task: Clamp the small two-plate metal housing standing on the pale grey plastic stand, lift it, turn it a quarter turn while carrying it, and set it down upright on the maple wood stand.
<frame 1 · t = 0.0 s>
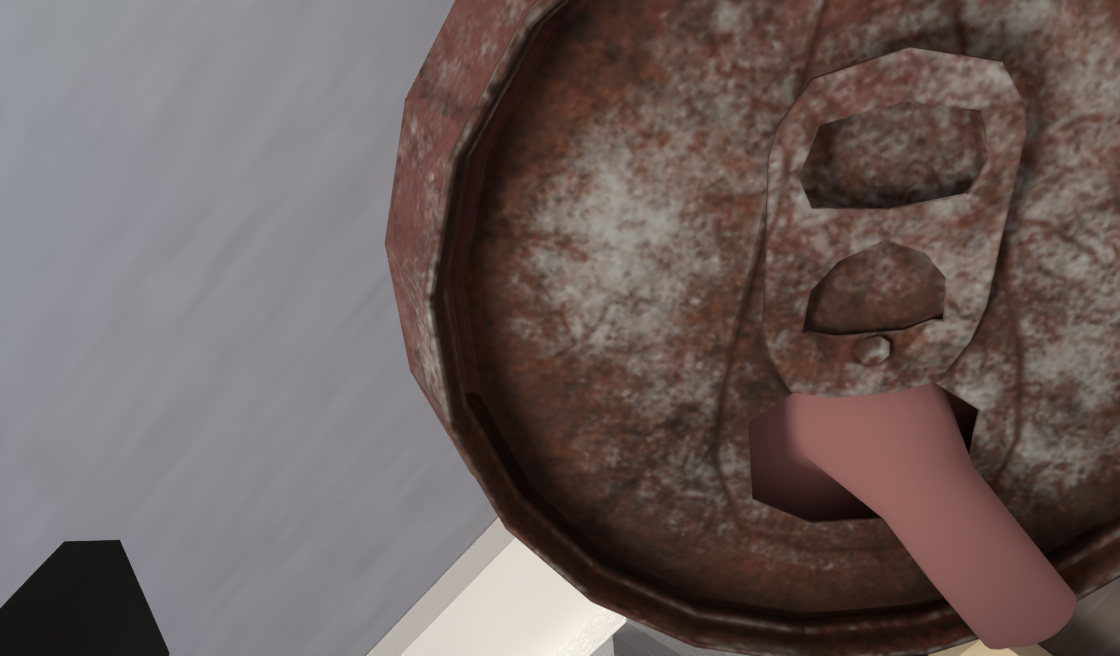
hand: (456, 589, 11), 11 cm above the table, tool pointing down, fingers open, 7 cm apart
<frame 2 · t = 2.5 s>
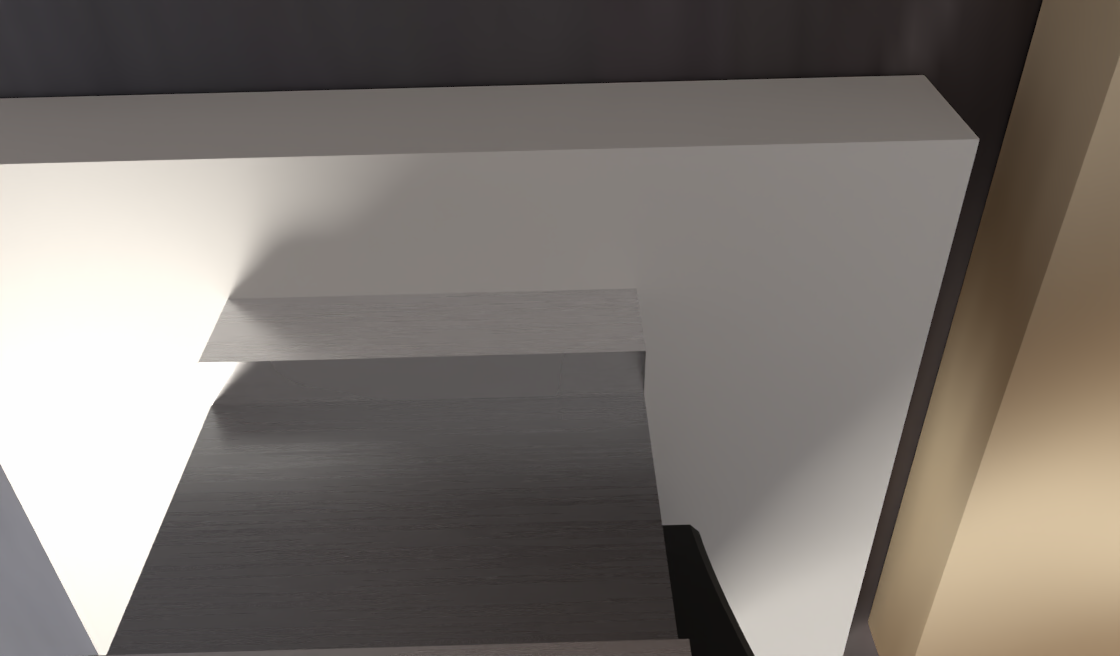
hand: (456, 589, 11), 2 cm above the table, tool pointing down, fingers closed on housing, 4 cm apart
stand a: (468, 447, 13), on the table
housing: (461, 534, 11), point 1 cm above the table, touching gripper, stand a
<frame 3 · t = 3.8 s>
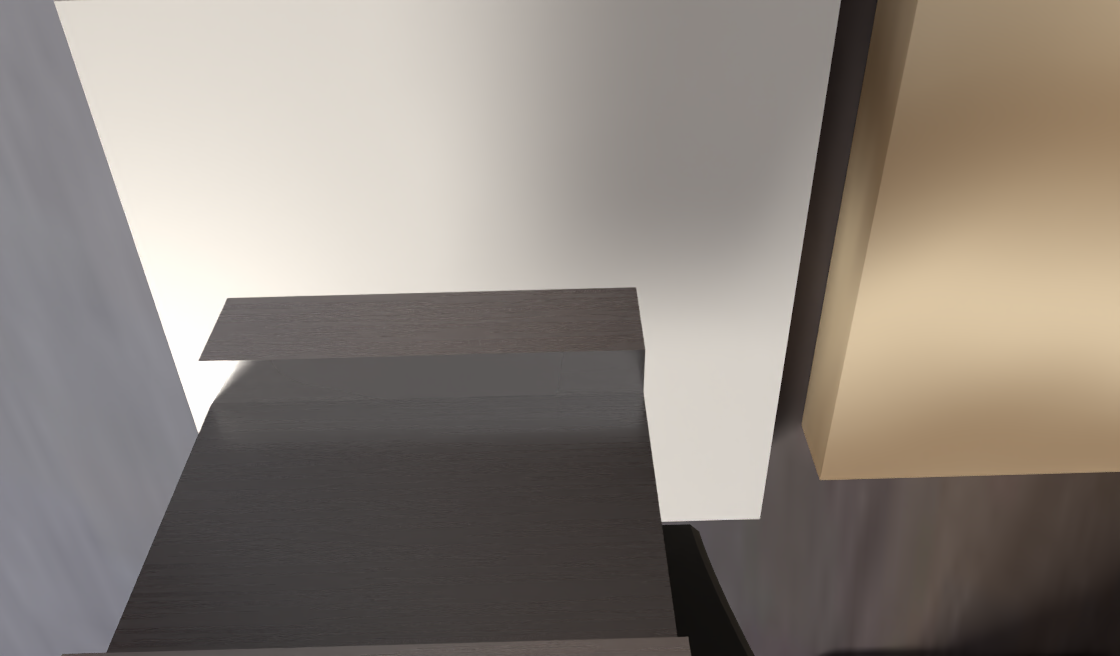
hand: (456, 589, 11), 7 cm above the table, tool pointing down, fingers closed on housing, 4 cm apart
stand a: (482, 260, 16), on the table
housing: (460, 533, 11), point 6 cm above the table, touching gripper
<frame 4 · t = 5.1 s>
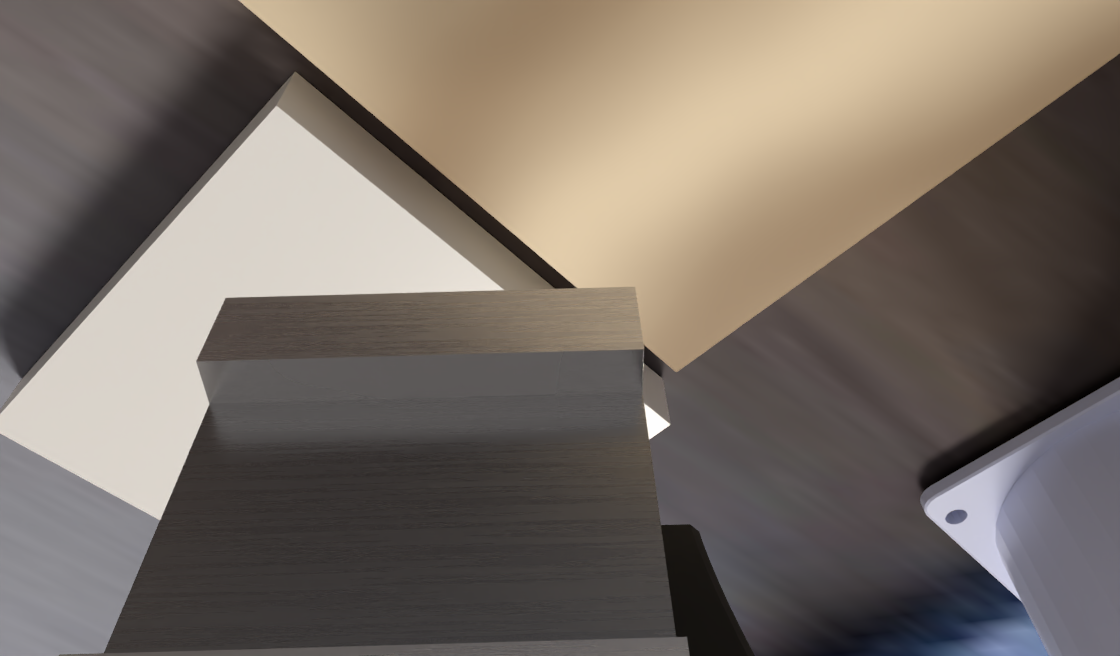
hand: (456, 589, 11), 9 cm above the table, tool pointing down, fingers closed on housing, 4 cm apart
stand a: (344, 379, 21), on the table
housing: (460, 533, 11), point 9 cm above the table, touching gripper
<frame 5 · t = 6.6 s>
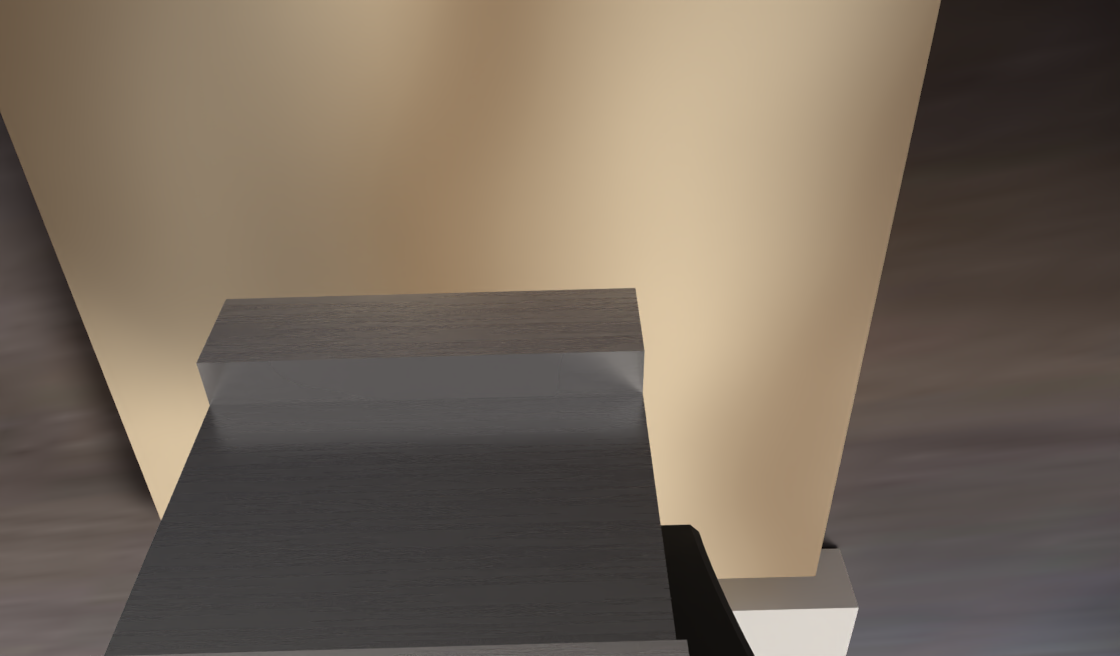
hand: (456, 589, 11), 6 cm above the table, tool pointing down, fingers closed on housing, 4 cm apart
housing: (460, 534, 11), point 6 cm above the table, touching gripper
stand b: (485, 279, 16), on the table
when the fingers open (3 cm above the table, at t = 8.0 s): housing stays where it is, resting on stand b.
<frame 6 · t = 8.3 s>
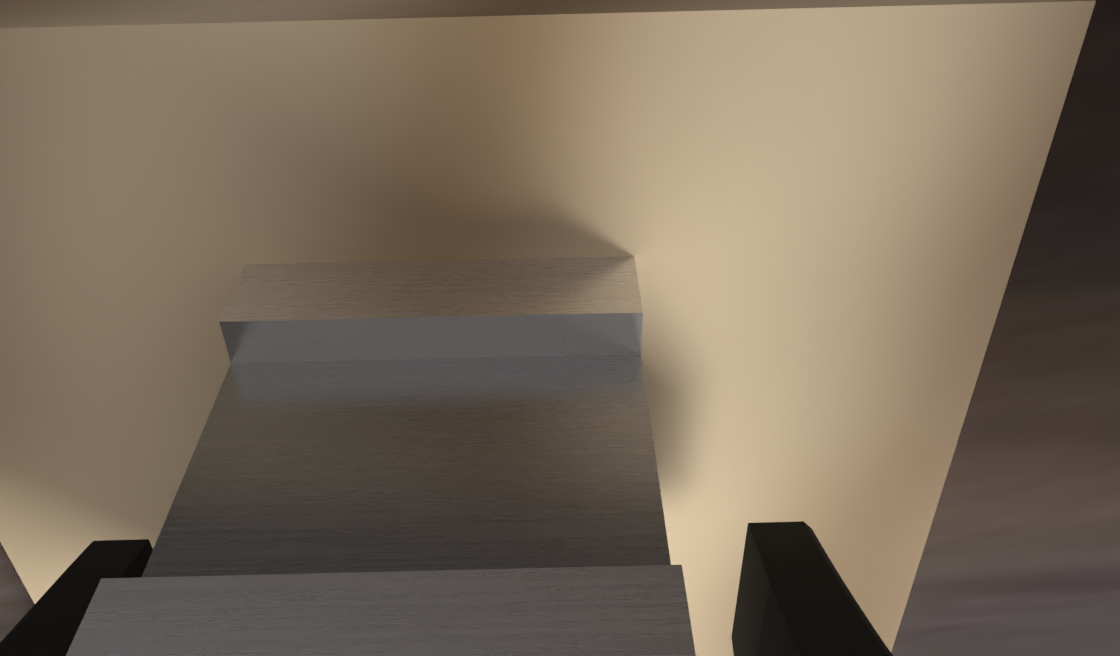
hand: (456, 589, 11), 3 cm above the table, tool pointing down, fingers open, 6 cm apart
housing: (464, 497, 12), point 1 cm above the table, touching stand b
stand b: (471, 417, 13), on the table
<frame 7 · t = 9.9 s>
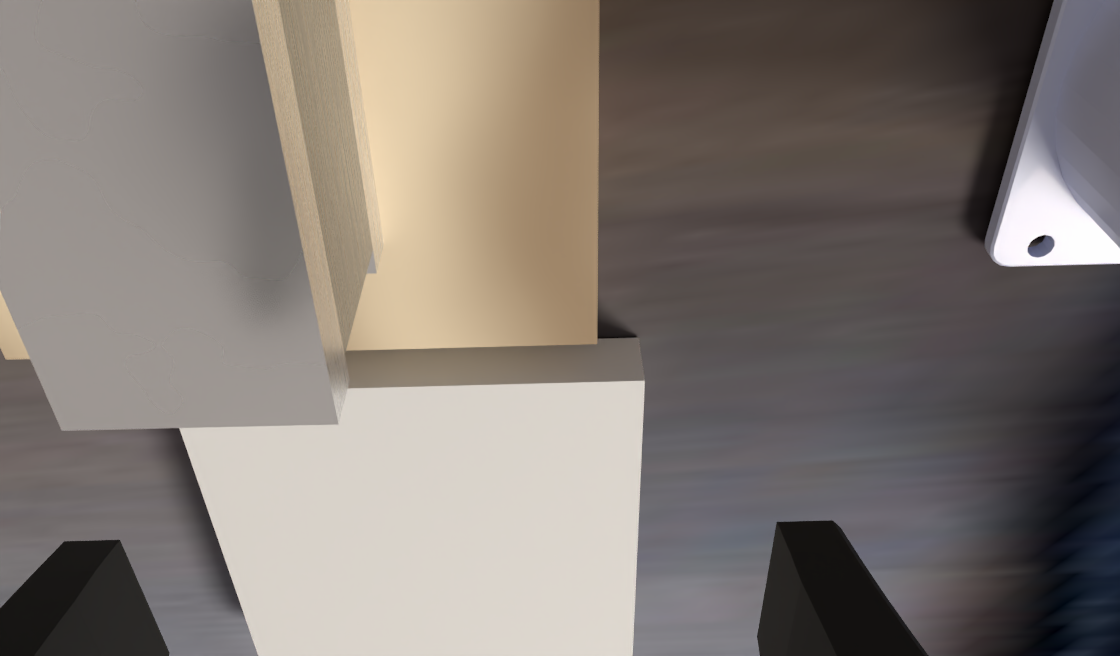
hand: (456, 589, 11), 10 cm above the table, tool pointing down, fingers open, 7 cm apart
stand a: (435, 500, 24), on the table
housing: (236, 65, 16), point 1 cm above the table, touching stand b
stand b: (257, 34, 17), on the table
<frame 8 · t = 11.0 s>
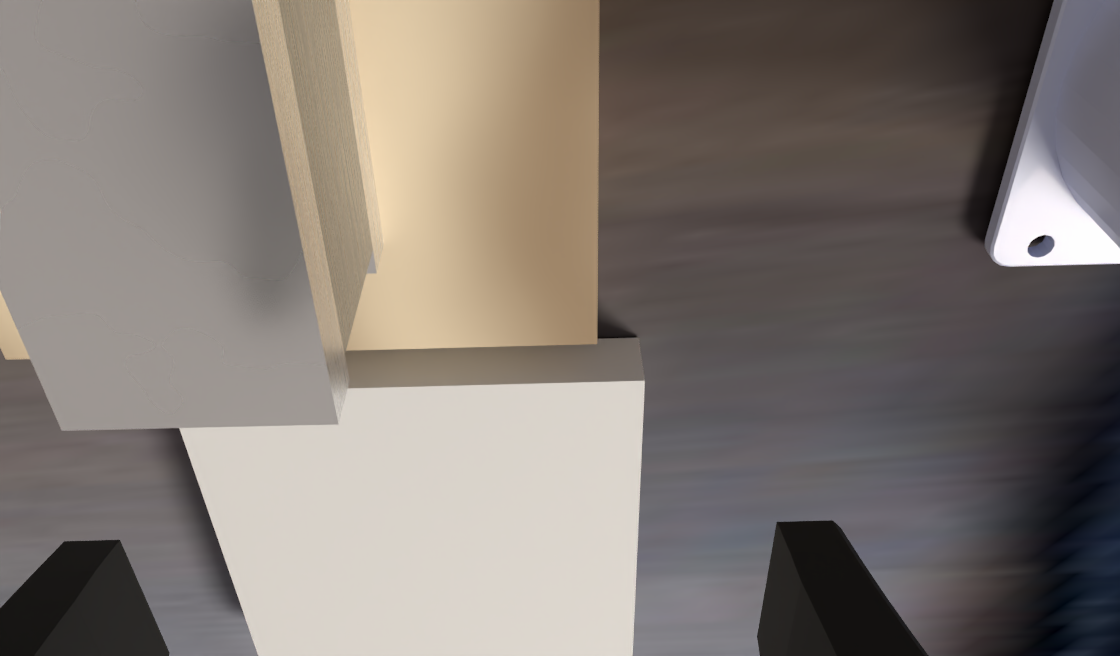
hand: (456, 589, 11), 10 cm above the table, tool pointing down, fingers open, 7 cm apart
stand a: (435, 500, 24), on the table
housing: (236, 65, 16), point 1 cm above the table, touching stand b
stand b: (257, 34, 17), on the table
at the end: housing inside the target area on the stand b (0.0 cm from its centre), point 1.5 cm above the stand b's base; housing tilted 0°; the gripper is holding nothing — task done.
